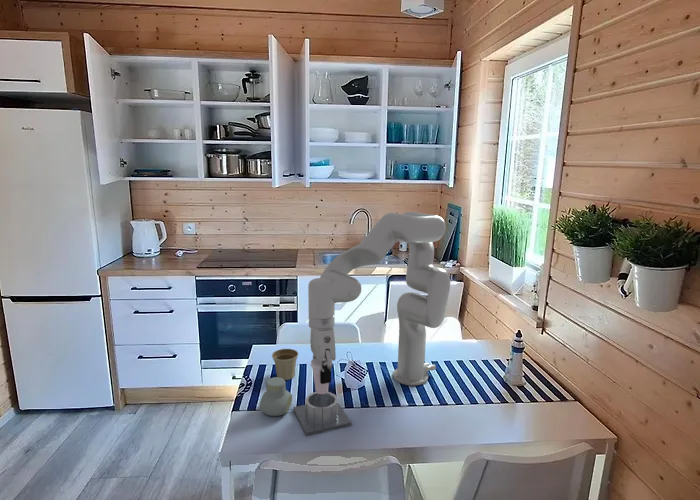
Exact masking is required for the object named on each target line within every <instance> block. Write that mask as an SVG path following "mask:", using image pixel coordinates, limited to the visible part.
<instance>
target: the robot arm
mask: <svg viewBox="0 0 700 500" xmlns="http://www.w3.org/2000/svg"><path fill="white" fill-rule="evenodd" d="M445 232H446V222H445V220H444V219H443V218H442V217H441V216H439V215H435V214H430V213H424V212H416V211H415V212H414V211H407V212H404V213H396V212H389V213H386V214H384V215H383V216H382V217H381V218H380V219H379V220H378V221H377V223H376V224H375V225H374V226H373V228H372V229H371V230H370V231H369V232H368V233H367V235H366V236H365V237H364V238H363V239H362V240H361V241H360V243H358V244H356V245H354V246H353V247H350V248H348V249H347V250H345V251H344V252H342V253H340V254H339V255H337V256H335V258H333V260H332V261H331V262H330V263H329V264H328V265H327V266H326V267H325V269H324V271H322V273H321V275H320V277H317V278H313V279H311V280H310V281H309V282H308V285H307V286H308V287H307V288H308V290H307V291H308V299H307V300H308V327H309V328H310V336H309V337H310V351H311V352H312V359H314V358H317V359H318V361H319V362H320V363H321V371H320V383H321V384H325V383H331V382H332V368H333V365H334V364H333V361H335V360H336V357H337V356H336V340H335V338H336V337H335V331H334V327H335V326H336V325H335V322H336V321H335V320H336V319H335V317H336V316H335V312H336V311H335V309H336V308H335V304H337V303H350V302H353V301H355V300H357V299H358V298H359V297H360V296H361V293H362V285H361V282H360V281H359V280H358V279H356V277H353V276H350V275H347V274H349V273H351V272H352V271H354V270H356V269H358V268H361V267H364V266H371V265H374V264H378V263H380V262H382V261H383V259H384V258H385V257H386V255H388V252H390V250H391V249H392V248H393V247H394V245H395V244H396V243H397V242H402V243H407V244H408V246H409V253H408V259H407V268H406V274H405V283H406V285H407V286H408V287H409V288H410V289H412V290H415V291H418V292H421V293H424V294H427V296H426V295H422V294H420V293H416V292H412V291H411V292H410V291H409V292H405V293H403V294H401V295H400V296H399V297H398V300H397V303H396V311H397V312H396V313H397V317H398V349H397V350H398V351H397V368H396V369H394V370H393V372H392V377H393V379H394V380H395V381H396V382H397V383H400V384H402V385H405V386H413V387H414V386H420V385H424V384H426V383H427V381H428V380H429V374H428V373H429V371H436V370H437V366H436V365H435V364H430V363H429V362H425V361H426V360H425V359H426V356H425V355H426V340H427V329H426V327H427V328H430V329H437V328H439V327H440V326H441V325H443V322H444V320H445V318H446V315H447V310H448V302H449V297H450V289H451V278H450V275H449V273H448V271H447V270H445V269H443V268H442V267H438V266H434V257H435V246H434V243H436V242H438V241H439V240H441V239H442V238H443V237H444V235H445ZM324 358H326V360H323V359H324ZM326 362H327V364H326V365H325V366H324V364H323V363H326Z"/></svg>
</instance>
